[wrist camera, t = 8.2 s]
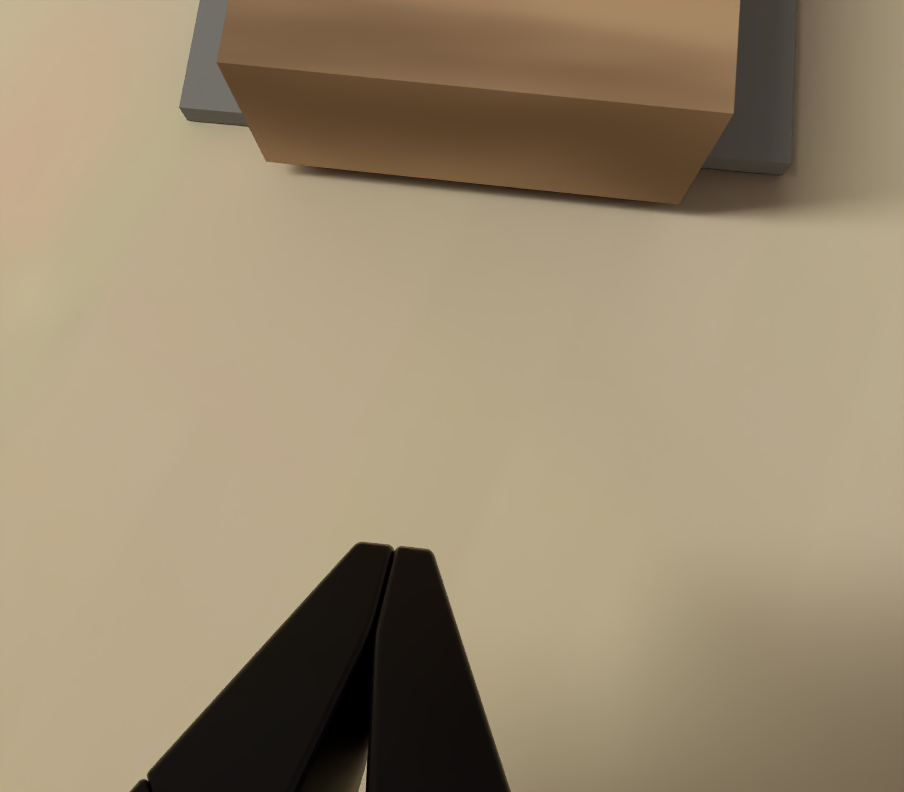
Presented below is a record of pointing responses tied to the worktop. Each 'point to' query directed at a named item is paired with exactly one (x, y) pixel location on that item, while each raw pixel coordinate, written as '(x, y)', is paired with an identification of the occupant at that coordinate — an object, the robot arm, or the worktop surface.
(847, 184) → the worktop surface
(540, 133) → the walnut slab
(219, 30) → the mat
